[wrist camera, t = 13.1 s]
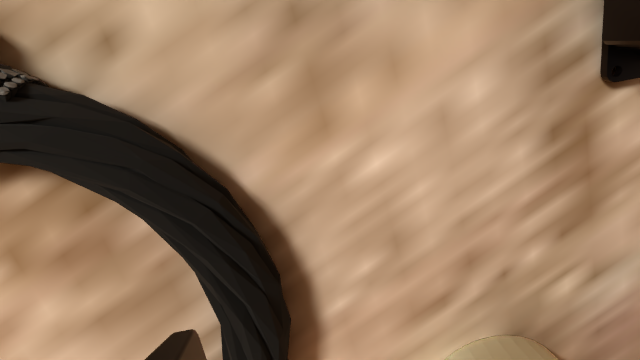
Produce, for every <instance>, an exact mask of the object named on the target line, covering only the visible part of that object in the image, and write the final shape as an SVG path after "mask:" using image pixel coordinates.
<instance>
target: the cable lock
mask: <svg viewBox="0 0 640 360" xmlns="http://www.w3.org/2000/svg"><path fill="white" fill-rule="evenodd" d="M0 163H8V164H18V165H27V166H31V167H35V168H39V169H42V170H46V171H49V172H52V173H54V174H56V175H59V176H61V177H63V178H65V179H67V180H69V181H72V182H74V183H76V184H78V185H80V186H83V187H85V188H87V189H89V190H91V191H93V192H96V193H98V194H100V195H102V196H104V197H106V198H109V199H111V200H113V201H115V202H117V203H118V204H120V205H121V206H123V207H124V208H126V209H128V210H129V211H131V212H132V213H134V214H135V215H137V216H138V217H140V218H141V219H143V220H144V221H145V222H146V223H147V224H148V225H149V226H150V227H151V228H152V229H153V230H154V231H156V232H157V233H158V234H159V235H160V236H161V237H162V238H163V239H164V240H165V241H166V242H167V243H168V244H169V245H170V246H171V247H172V248H173V249H174V250H175V251H176V252H178V253H179V254H180V255H181V256H182V257H183V258H184V260H185V261H186V262H187V263H188V265H189V266H190V267H191V268H192V270H193V271H194V272H195V273H196V275H197V278H198V280H199V282H200V284H201V286H202V288H203V290H204V292H205V294H206V296H207V298H208V300H209V302H210V304H211V306H212V308H213V310H214V312H215V314H216V316H217V318H218V320H219V322H220V324H221V337H222V354H223V360H288V359H287V356H288V345H289V335H290V324H291V318H290V315H289V312H288V310H287V307H286V304H285V301H284V298H283V295H282V288H281V280H280V274H279V272H278V270H277V269H276V267H275V265H274V263H273V261H272V259H271V257H270V255H269V253H268V251H267V249H266V247H265V246H264V244H263V242H262V240H261V238H260V236H259V234H258V232H257V231H256V230H255V228H254V226H253V225H252V223H251V222H250V221H249V219H248V218H247V216H246V215H245V214H244V212H243V211H242V209H241V208H240V207H239V205H238V204H237V202H236V201H235V200H234V198H233V197H232V196H231V194H230V193H229V191H228V190H227V189H226V188H225V187H224V186H223V185H221V184H220V183H219V182H217V181H216V180H215V179H214V178H212V177H211V176H210V175H208V174H207V173H206V172H205V171H203V170H202V169H201V168H200V167H198V166H197V165H196V164H194V163H193V162H192V160H191V159H190V158H189V157H188V156H187V155H186V153H185V152H184V151H183V150H182V149H180V148H179V147H177V146H176V145H174V144H173V143H171V142H170V141H168V140H167V139H165V138H164V137H162V136H161V135H159V134H158V133H156V132H155V131H153V130H152V129H150V128H149V127H147V126H146V125H144V124H143V123H141V122H140V121H138V120H137V119H134V118H132V117H130V116H128V115H126V114H123V113H121V112H119V111H117V110H115V109H112V108H110V107H108V106H106V105H104V104H101V103H99V102H97V101H95V100H93V99H90V98H88V97H86V96H84V95H80V94H76V93H71V92H67V91H63V90H58V89H54V88H50V87H48V85H47V84H45V83H44V82H43V81H42V80H40V79H37V78H36V77H32V76H30V75H29V74H27V73H24V72H22V71H19V70H17V69H13V68H11V67H10V66H7V65H3V64H0Z"/></svg>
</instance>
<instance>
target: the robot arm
mask: <svg viewBox="0 0 640 360" xmlns="http://www.w3.org/2000/svg"><path fill="white" fill-rule="evenodd" d="M614 67H616V71H615V73H614V74H613V75H612V69H613V68H614ZM601 77H602V79H603V80H605V81H609V82H619V81H624V80H630V79H635V78H640V0H604V15H603V32H602V57H601ZM145 360H207V359H206V356H205V353H204V350H203V347H202V344H201V341H200V338H199V336H198V334H197V332H196V331H195V330H193V329H191V330H186V331H180V332H175V333H173V334H172V335H170V336H169V337H168V338H167V339H166V340H165V341H164V342H163V343H162V344H161V345H160V346H159V347H158V348H157V349H156V350H154V351H153V352H152V353H151V354H150V355H149V356H148V357H147V358H146V359H145Z"/></svg>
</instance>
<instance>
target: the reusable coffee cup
mask: <svg viewBox="0 0 640 360" xmlns="http://www.w3.org/2000/svg"><path fill="white" fill-rule="evenodd" d="M445 360H559V359H557V358H556V357H555V356H554V355H553V354H552V353H551V352H550V351H549V350H548V349H547V348H545V347H544V346H543V345H541V344H539V343H538V342H536V341H534V340H531V339H528V338H524V337H521V336H511V335H504V336H493V337H488V338H484V339H480V340H477V341H475V342H472V343H470V344H467V345H465V346H464V347H462V348H460V349H459V350H457V351H455V352H454V353H452V354H451V355H450V356H449V357H448V358H446V359H445Z"/></svg>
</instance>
